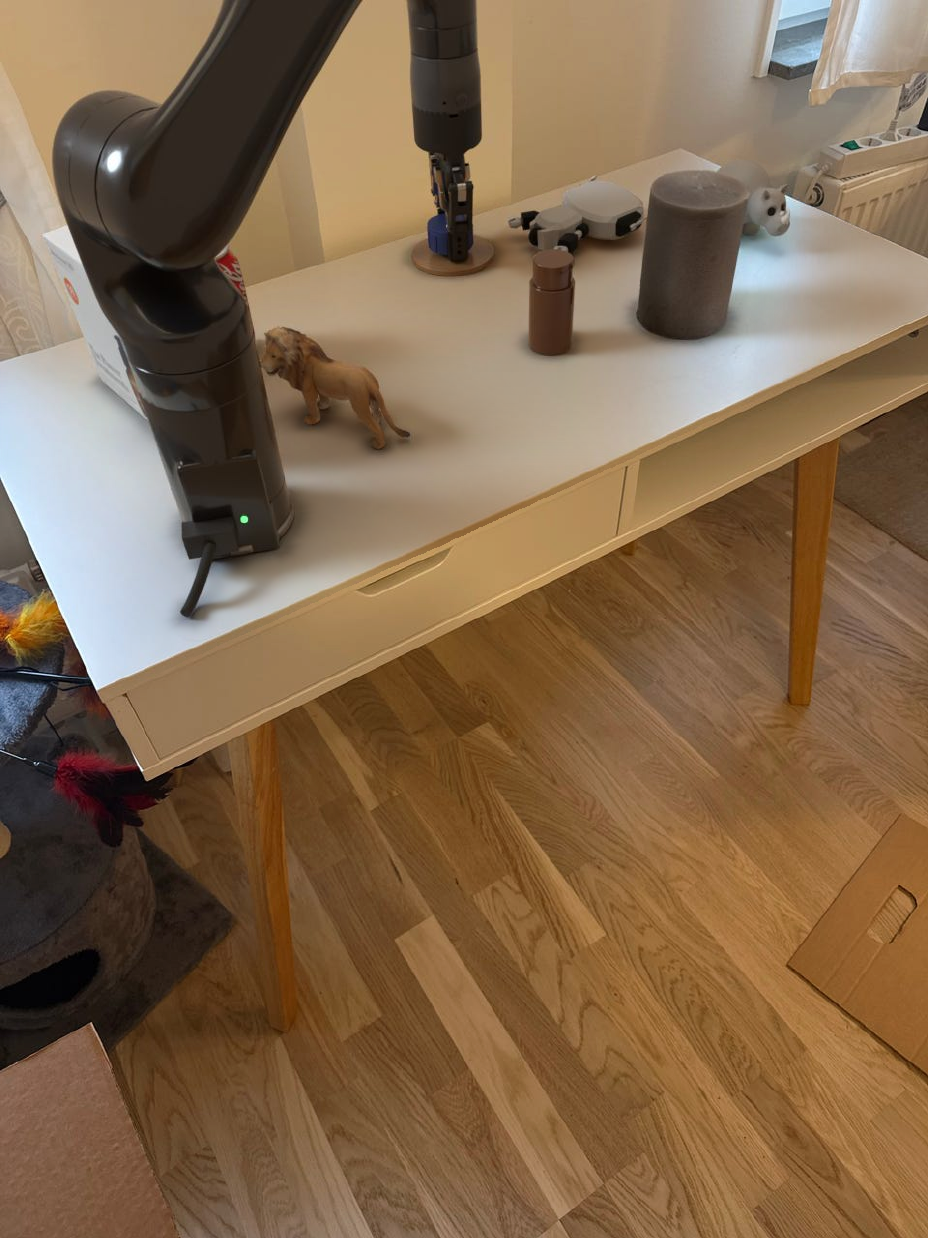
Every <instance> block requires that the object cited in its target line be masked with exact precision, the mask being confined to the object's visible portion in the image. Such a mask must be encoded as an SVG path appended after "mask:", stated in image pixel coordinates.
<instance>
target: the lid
mask: <svg viewBox="0 0 928 1238" xmlns="http://www.w3.org/2000/svg"><path fill="white" fill-rule="evenodd" d="M460 219H462V215H458V216H456V218H455V220H460ZM426 224H427V225H426V229H427V230H426V231H427V238H428V243H429V248H430V249H431V250H432V251H433V252H435V253H437V254H442V255H448V236H447V229H446V217H445V213H444V214H439V215H438V214H436V215H434V216H432V217H430V218H429V219H428V220H427V223H426ZM473 235H474V227H473V228H472V231H469V232H468V231H467V245H468V250H470V249H471V247H472V245H473Z"/></svg>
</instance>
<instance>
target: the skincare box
mask: <svg viewBox="0 0 928 1238" xmlns="http://www.w3.org/2000/svg"><path fill="white" fill-rule="evenodd" d="M42 237H43V239H44V241H45V245H46V246H47V249H48V251H49V255H50V256H51V260H52V261H53V265H54V266H55V269H56V271H57V274H58V276H59V278H60V281H61V284H62V286H63V289H64V291H65V294H66V296H67V298H68V301H69V304H70V306H71V308H72V311H73V313H74V316H75V319H76V321H77V323H78V326H79V328H80V331H81V333H82V335H83V338H84V341H85V343H86V345H87V348H88V351H89V353H90V355H91V358H92V361H93V363H94V366H95V368H96V371H97V373H98V375H99V378H100V380H101V382H103V383H104V384H105V385H106V386H108V387H109V388H110V390H111V391H113V392H114V393H115V394H116V395H118V396H119V397H120V398H121V399H122V400H123V401H125V403H127V404H128V405H129V406H130V408H132V409H133V410H135V411H136V412H137V413H138V414H139V415H141V416H142V417H143V418H144V419H145V420H146V421H147V422H148V419H147V416H146V413H145V410H144V407H143V404H142V401H141V398H140V395H139V391H138V388H137V385H136V382H135V379H134V376H133V373H132V371H131V368H130V365H129V362H128V359H127V356H126V353H125V350H124V347H123V344H122V342H121V339H120V337H119V336H118V334H117V332H116V331H115V329H114V328H113V327H112V325H111V324H110V322H109V321H108V320H107V318H106V317H105V315H104V313H103V312H102V310H101V308H100V306H99V304H98V302H97V300H96V297H95V295H94V293H93V290H92V287H91V285H90V282H89V280H88V277H87V275H86V272H85V270H84V267H83V265H82V262H81V259H80V257H79V254H78V252H77V249H76V247H75V244H74V241H73V239H72V236H71V234H70V231H69V228H68V226H67V224H66V225H63V226H61V227H58V228H56V229H53V230H50V231H48V232H47V231H46V232H45V233H42Z"/></svg>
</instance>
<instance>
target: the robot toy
mask: <svg viewBox="0 0 928 1238" xmlns="http://www.w3.org/2000/svg"><path fill="white" fill-rule="evenodd" d="M597 178H598V175H593V176H592V177H591V178H590V179H589V180H587V181H585V182H584V183H582V184H579V185H576V186H575V187H572V188H569V189H568V190H567V191H566V192H565V193H564V195H563V196H562V201H561V202H562V204H560V205H559V204H558V205H556V206H551V207H548V208H546V209H543V210H540V211H537V210H534V209H533V210H528V211H523V212H522V211H521V212H520V217H519V216H512V217H509V219H508V220H507V225H508V227H509V228H510V229H518V228H520V227H521V228H522V231H529V233H528V237H527V238H528V242H529V243H530V245H531V246H533V247H537V249H538V250H540V251H543V250H549V249H558V250H563V251H566V252H568V253H570V254H571V255H572V254H573V253H574V252H575V251H576V250H577V249H578V245H579V241H580V240H583V239H585V238H586V237H587V236H588V237H589V238H594V239H598V240H603V241H606V240H607V241H617V240H621V239H623V238H624V237H626V236H627V235H628V234H631V233H633V232H636V231H637V230H639V229H640V228H641V227H642V225H643V223H644V222H645V221H647V215H645V216H644V208H645V207H644V202H643V201H642V200H641V198H639V196H637V195H636V194H635V193H634V192H632V191H631V190H630V189H629V188H627V187H624V186H621V185H619V184H616V183H613V182H609V181H606V180H597Z"/></svg>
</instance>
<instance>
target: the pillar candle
mask: <svg viewBox="0 0 928 1238" xmlns="http://www.w3.org/2000/svg"><path fill="white" fill-rule="evenodd" d="M649 191H650V192H649V197H648V204H647V212H646V213H647V214H646V216H647V219H646V220H645V221H646V222H645V230H644V231H645V232H644V242H643V249H642V256H641V270H640V278H639V289H638V299H637V300H638V302H637V309H636V319H637V322H638V323H639V324H641V326H642V327H643V328H644V329H645V330H647V331H648V332H651V334H655V335H658V336H661V337H667V338H670V339H671V338H672V339H681V340H683V339H685V340H686V339H687V340H691V339H693V340H694V339H699V338H704V337H706V336H710V335H713V334H715V333H716V332H719V330H721V329H722V328H723V327H724V326H725V323H726V321H727V318H728V317H727V316H728V309H729V304H730V300H731V294H732V290H733V286H734V285H733V284H734V280H735V279H734V278H735V274H736V273H735V272H736V268H737V262H738V256H739V251H740V246H741V239H742V236H743V234H742V229H743V223H744V218H745V213H746V208H747V203H748V198H749V196H750V194H751V193H750V191H749V190H748V186H747V185H745V184H744V183H743V182H742V181H740V180H738V179H736V178H734V177H732V176H729V175H726V174H721V173H718V172H717V171H715V170H711V169H703V170H700V169H691V170H689V169H687V170H677V171H673V172H672V171H671V172H668V173H665V174H662V175H661V176H659V177H657V178H656V179H655V180H654V181H653V182H652V183H651V186H650V188H649Z"/></svg>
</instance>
